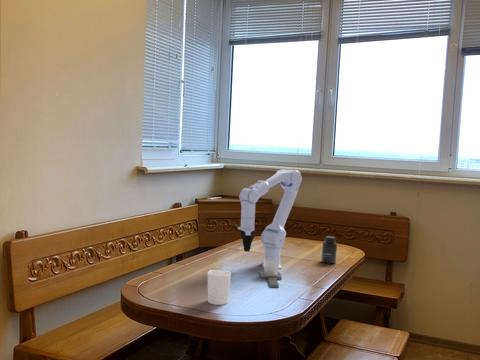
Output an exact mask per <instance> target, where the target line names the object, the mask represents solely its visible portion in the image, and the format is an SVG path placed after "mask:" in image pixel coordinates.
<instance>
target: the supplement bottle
mask: <svg viewBox="0 0 480 360" xmlns="http://www.w3.org/2000/svg"><path fill="white" fill-rule="evenodd" d="M321 247H322V248H321V259H320V260H321V263H323V262H324V264H327V263H334V264H336V262H337V255H338V253H337V250H338V244H337V242H336V236H331V235H328V236H325V237H324V242H322V245H321Z"/></svg>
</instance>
